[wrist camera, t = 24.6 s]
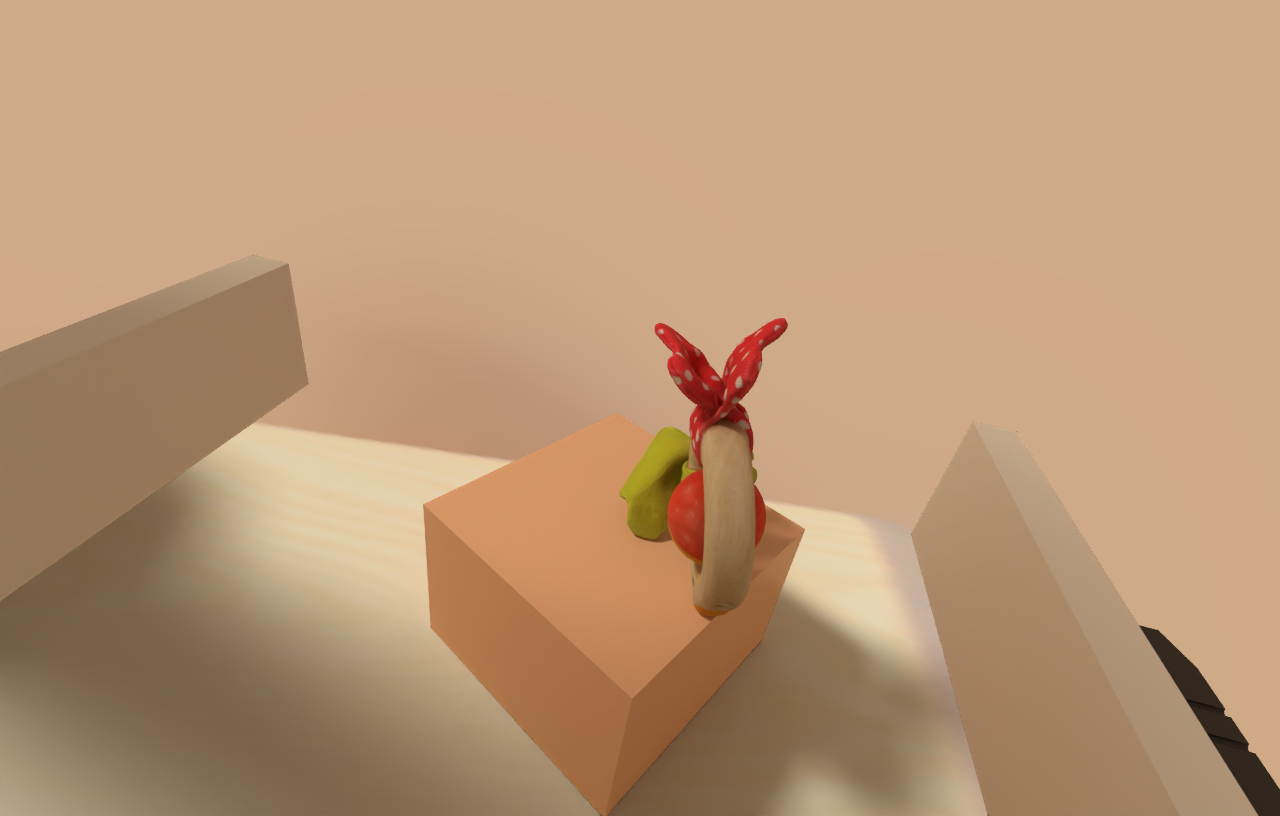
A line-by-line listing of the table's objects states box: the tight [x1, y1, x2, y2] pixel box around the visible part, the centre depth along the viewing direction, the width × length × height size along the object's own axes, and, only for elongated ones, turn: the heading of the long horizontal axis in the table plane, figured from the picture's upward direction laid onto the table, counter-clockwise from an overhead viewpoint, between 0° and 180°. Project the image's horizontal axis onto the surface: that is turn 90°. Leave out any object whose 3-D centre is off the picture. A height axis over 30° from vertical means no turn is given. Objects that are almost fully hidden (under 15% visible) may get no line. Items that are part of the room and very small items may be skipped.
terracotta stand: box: [423, 413, 805, 816], centre depth 28 cm, size 12×12×8 cm
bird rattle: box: [619, 318, 788, 616], centre depth 22 cm, size 6×11×9 cm
